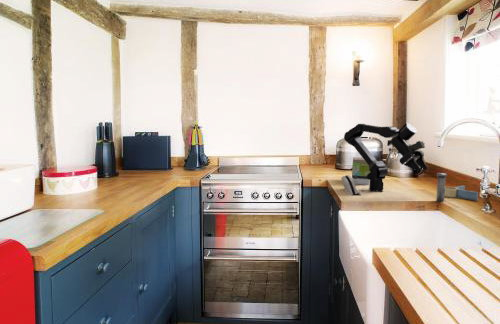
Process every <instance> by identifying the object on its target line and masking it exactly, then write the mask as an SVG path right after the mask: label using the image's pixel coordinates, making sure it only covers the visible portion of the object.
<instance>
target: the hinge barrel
mask: <svg viewBox="0 0 500 324" xmlns="http://www.w3.org/2000/svg"><path fill="white" fill-rule="evenodd" d="M445 196H446V197H445ZM444 197H445V198H454V199H455V198H459V199H464V200H471V201H475V202H477V201H479V192H478V191H474V190H473V191H471V190H466V185H464V184H463V185H458V186H445V194H444Z"/></svg>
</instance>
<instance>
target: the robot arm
mask: <svg viewBox="0 0 500 324" xmlns="http://www.w3.org/2000/svg"><path fill="white" fill-rule="evenodd" d="M364 132H365V133H371V134H377V135H379V136H380V137H383V138H385V139H388V140H387V147H389V146H393V148H394V149H395V150H396V151H397V154H400V155H401V157H400V158H399V163H400V164H401V165H403V166H404V167H405V166H406V167H408V168H410V169H412V170H414V171H417V172H419V173H422V171H423V170H424V171H427V170H429V168H428V166H427V163H426V162H425V160H424V155H425V153H424V152H423V151H422V150H421V149H424V148H426V146H425V142H424V141H422V140H418V141H416V142H415V143H413V144H411V143H407V141H409V140H410V139H411V138H412V137H414V135H416V134H417V132H418V131H417V128H416V127H415V126H413V125H411V124H410V123H409V122H405V123H404V124H403V126H402V127H401V128H397V126H377V125H372V124H365V123H357V124H356V125H355V126H354V127H352V128H350V129H349V130H348V131H346V132H344V135H343V136H344V137H343V139H344V141H345V142H346V143H348V144H349V145H350V146H353V148H355V150H356V151H357V152H358V154H359V155H360V156H361V157H363V159H364V160H365V161H366V163H367V164H368V165H369V170H370V173H369V174H368V175H367V179H369V185H368V186H369V187H368V190H369V192H383V191H384V182H383V180H384V179H386V176H387V174H388V171H389V170H388V166H387V165H386V164H385V163H384V161H383V160H379V161H378V160H377V158H375V157H374V156H373V154H372V153H371V151H370V150H369V149H368V148H367V146H365V145H364V143H363V142H362V136H363V134H364ZM390 138H391V139H390ZM422 169H423V170H422Z"/></svg>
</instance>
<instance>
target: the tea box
mask: <svg viewBox="0 0 500 324" xmlns="http://www.w3.org/2000/svg"><path fill="white" fill-rule="evenodd" d="M351 165H352V166H351V167H352V168H351V178H352V179H353V181H354V184H355V185H363V186H364V185H365V186H369V182H370V180H369V179H367V175H368V174H369V173H370V170H369V165H368V164H367V163H366V161H365V160H364V159H363V157H362V156H361V157H358V156H357V157H356V156H354V157H352V164H351Z"/></svg>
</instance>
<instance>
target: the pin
mask: <svg viewBox="0 0 500 324" xmlns="http://www.w3.org/2000/svg"><path fill="white" fill-rule="evenodd" d="M436 176H437V186H436V187H437V188H436V202H440V203H441V201H444V202H445V196H444V194H445V187H446V178H447V177H448V173H443V172H437V173H436Z"/></svg>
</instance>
